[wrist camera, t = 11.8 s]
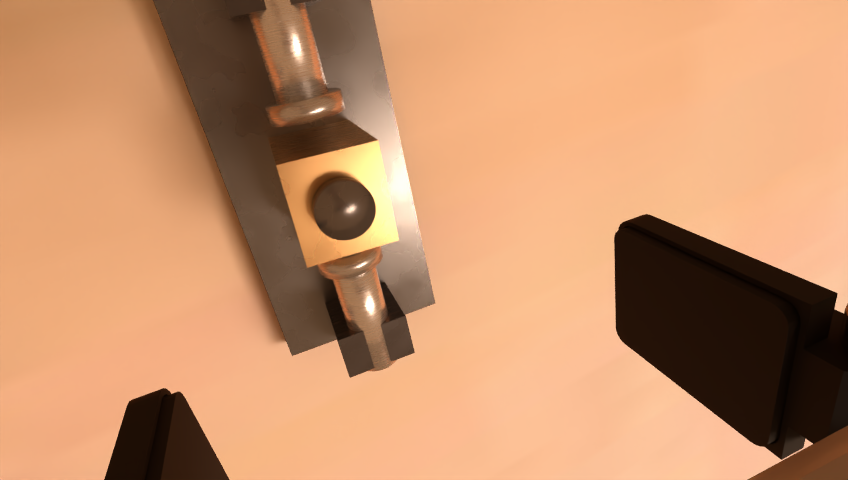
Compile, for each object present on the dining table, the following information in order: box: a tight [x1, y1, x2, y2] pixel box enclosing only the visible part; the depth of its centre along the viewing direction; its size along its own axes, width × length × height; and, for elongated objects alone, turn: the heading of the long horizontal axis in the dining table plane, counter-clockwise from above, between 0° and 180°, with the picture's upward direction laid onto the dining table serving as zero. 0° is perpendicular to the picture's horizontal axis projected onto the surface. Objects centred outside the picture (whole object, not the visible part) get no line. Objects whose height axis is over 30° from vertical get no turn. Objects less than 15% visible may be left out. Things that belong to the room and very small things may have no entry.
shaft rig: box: [153, 0, 435, 377], centre depth 23 cm, size 20×9×6 cm, turn 11°
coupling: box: [268, 120, 399, 268], centre depth 22 cm, size 4×4×7 cm
